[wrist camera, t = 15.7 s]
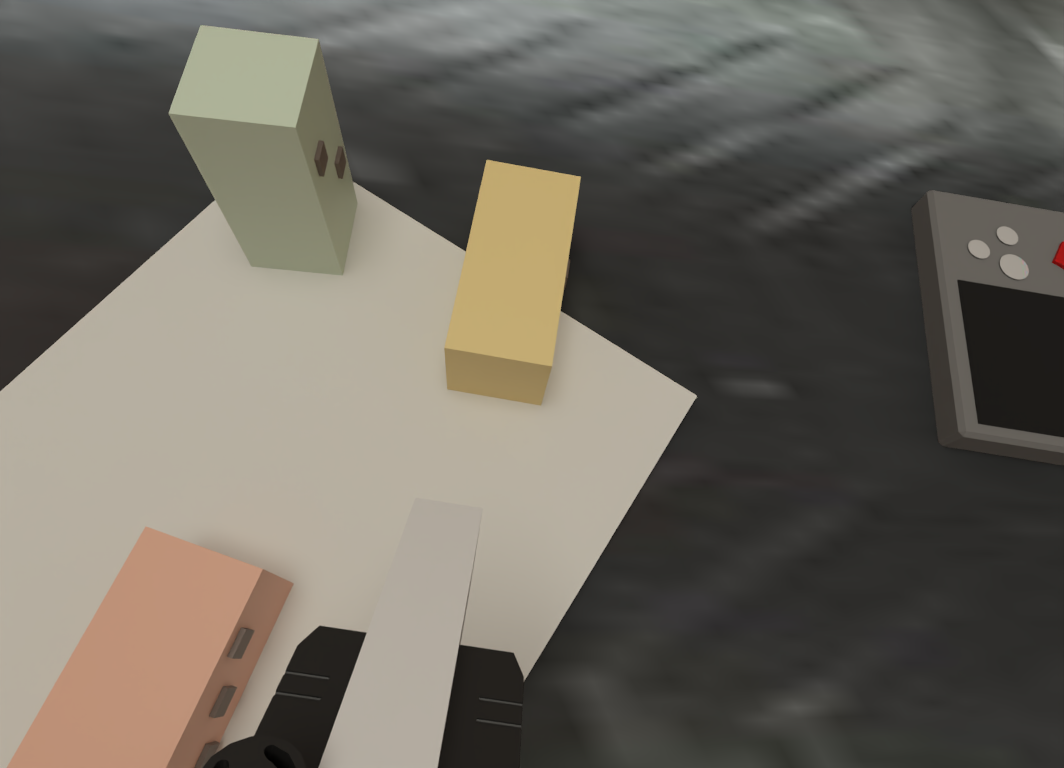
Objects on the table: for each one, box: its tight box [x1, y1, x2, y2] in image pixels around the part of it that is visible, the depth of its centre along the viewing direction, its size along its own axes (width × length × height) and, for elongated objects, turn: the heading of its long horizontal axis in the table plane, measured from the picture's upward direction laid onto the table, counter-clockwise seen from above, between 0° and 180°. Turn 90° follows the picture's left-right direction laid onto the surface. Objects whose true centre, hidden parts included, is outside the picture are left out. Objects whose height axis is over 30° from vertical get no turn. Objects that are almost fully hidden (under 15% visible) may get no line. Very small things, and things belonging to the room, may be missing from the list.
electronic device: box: [911, 190, 1064, 465], centre depth 36 cm, size 10×2×15 cm
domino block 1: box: [7, 526, 294, 768], centre depth 24 cm, size 4×5×10 cm
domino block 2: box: [168, 25, 358, 276], centre depth 30 cm, size 4×5×10 cm
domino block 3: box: [444, 160, 581, 405], centre depth 31 cm, size 4×5×10 cm
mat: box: [0, 182, 697, 768], centre depth 28 cm, size 36×26×1 cm
